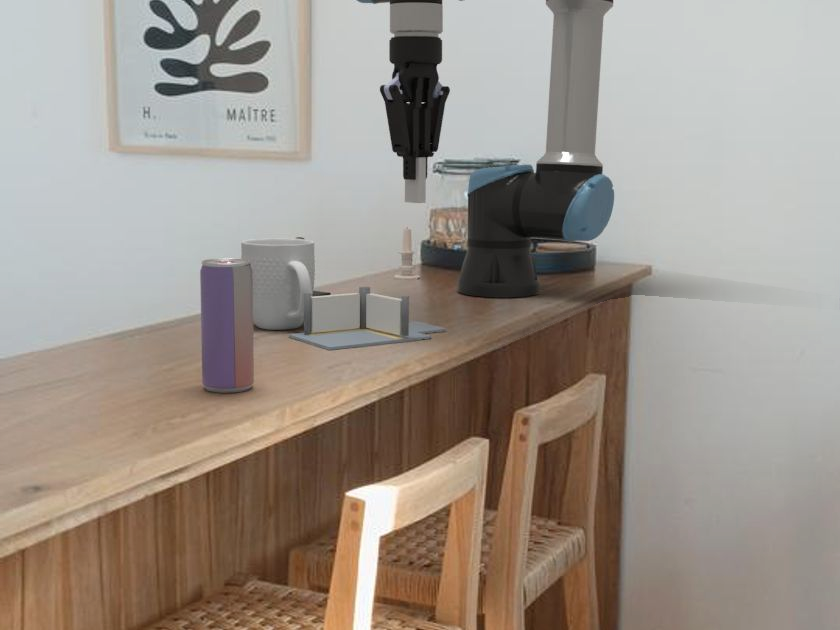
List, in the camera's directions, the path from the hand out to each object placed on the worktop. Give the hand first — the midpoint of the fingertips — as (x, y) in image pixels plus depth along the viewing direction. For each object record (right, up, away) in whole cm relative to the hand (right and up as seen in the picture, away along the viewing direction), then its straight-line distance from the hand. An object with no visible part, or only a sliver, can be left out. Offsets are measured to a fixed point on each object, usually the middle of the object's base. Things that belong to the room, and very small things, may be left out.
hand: (415, 202), depth 175 cm
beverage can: (-22, -25, -34) cm, 47 cm away
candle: (-2, -9, +66) cm, 67 cm away
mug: (-20, -18, +8) cm, 28 cm away
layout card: (-6, -19, +1) cm, 20 cm away
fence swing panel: (-4, -19, +1) cm, 19 cm away
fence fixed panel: (-11, -19, +3) cm, 22 cm away
